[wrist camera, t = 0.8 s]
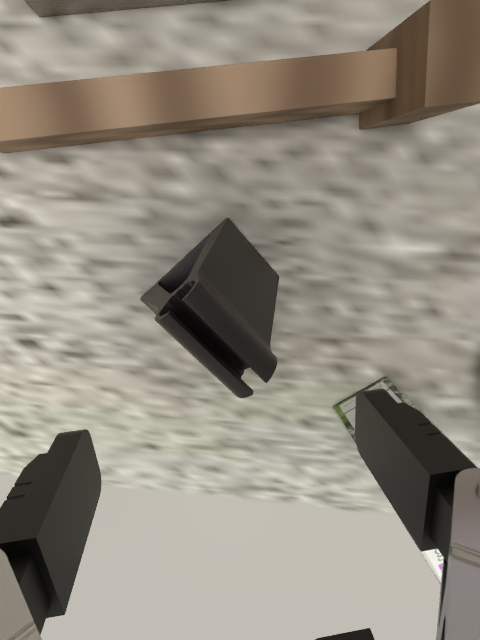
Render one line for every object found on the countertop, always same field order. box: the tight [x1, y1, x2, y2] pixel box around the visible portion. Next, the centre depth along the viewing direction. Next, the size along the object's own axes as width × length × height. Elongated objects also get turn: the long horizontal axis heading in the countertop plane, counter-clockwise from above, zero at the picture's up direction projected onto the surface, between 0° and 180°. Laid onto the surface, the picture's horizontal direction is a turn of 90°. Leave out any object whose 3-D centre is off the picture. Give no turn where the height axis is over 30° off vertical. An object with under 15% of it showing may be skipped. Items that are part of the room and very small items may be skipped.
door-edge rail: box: [0, 0, 480, 153], centre depth 21 cm, size 28×4×8 cm, turn 97°
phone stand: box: [140, 218, 279, 398], centre depth 23 cm, size 9×6×12 cm, turn 131°
